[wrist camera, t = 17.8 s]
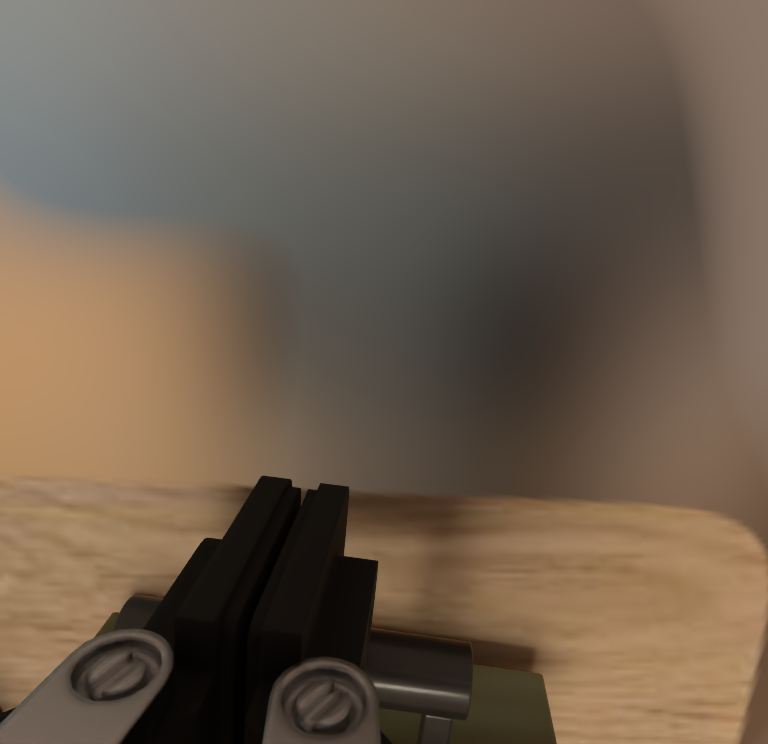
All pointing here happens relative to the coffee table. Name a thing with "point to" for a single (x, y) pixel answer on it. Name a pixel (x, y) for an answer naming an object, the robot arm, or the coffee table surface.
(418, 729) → the drawer
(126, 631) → the robot arm
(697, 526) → the coffee table surface
